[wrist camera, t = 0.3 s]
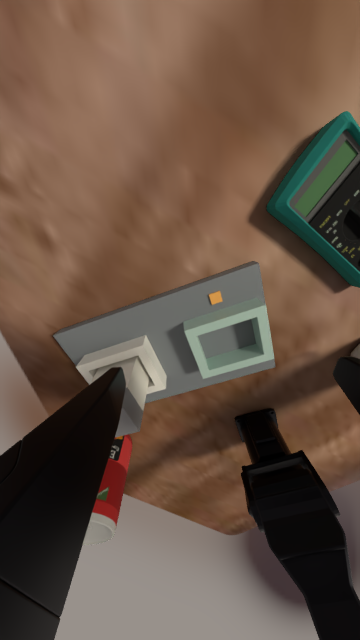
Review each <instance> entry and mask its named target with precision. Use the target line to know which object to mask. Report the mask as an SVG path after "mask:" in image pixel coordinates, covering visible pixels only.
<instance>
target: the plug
mask: <svg viewBox="0 0 360 640" xmlns="http://www.w3.org/2000/svg"><path fill="white" fill-rule="evenodd" d="M112 367H122V369H123V372H124V376H125V381H126V389H125V394H124V399H123V405H122V410H121V415H120V420H119V425H118V428H117V432H116V435H115V437H119V436H123V435H127V434H131V433H135V432H139V431H140V427H141V421H142V416H143V410H144V405H145V399H146V394H147V388H148V383H149V377H150V375H149V374H148V372H147V370H146V368H145V367H144V365H143V363H142V361H141V359H140V358H139V356H134V357H131V358H128V359H125V360H122V361H119V362H115V363H112V364H109V365H106V366H103V367H100V368H99V369H98V370H97V372H96V374H95V376H94V377H93V379H92V381H91V383H93V382H94V381H95V380H96V379H98V378H99V377H100V376H101V375H103V374H104V373H105V372H106V371H108V370H109V369H110V368H112ZM91 383H90V384H91ZM90 384H89V385H90Z"/></svg>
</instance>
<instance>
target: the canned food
mask: <svg viewBox="0 0 360 640" xmlns="http://www.w3.org/2000/svg"><path fill="white" fill-rule="evenodd" d="M131 451H132V439H131V437H130V436H129V435H128V434H127V435H123V436H119V437H115V439H114V442H113V445H112V449H111V452H110V455H109V459H108V462H107V465H106V469H105V472H104V475H103V478H102V482H101V485H100V488H99V492H98V495H97V498H96V502H95V505H94V508H93V512H92V515H91V518H90V522H89V525H88V528H87V531H86V535H85V538H84V541H83V545H92V544H99V543H103V542H106V541H108V540H110V539H111V538H112V537H113V536H114V533H115V529H116V525H117V520H118V516H119V511H120V506H121V501H122V496H123V491H124V486H125V481H126V476H127V471H128V466H129V461H130V456H131Z"/></svg>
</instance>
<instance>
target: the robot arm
mask: <svg viewBox="0 0 360 640" xmlns="http://www.w3.org/2000/svg"><path fill="white" fill-rule="evenodd" d="M333 376H334V378H335V380H336V381H337V383H338V384H339V386H340V387H341V389H342V390H343V392H344V393H345V394H346V396H347V397H348V399H349V400H350V402H351V403H352V405H353V406H354V408H355V409H356V410H357V412H358V413H359V414H360V359H359V358H356V357H353V356H344V357H340V358H339V359H338V361H337V364H336V366H335V369H334V371H333ZM125 389H126V381H125V376H124V372H123V369H122V367H112V368H110V369H109V370H108V371H106V372H105V373H104V374H103V375H101V376H100V377H99V378H98V379H96V380H95V381H94V382H93V383H91V384H90V385H89V386H88V387H86V388H85V389H84V390H83V391H81V392H80V393H79V394H77V395H76V396H75V397H74V398H72V399H71V400H70V401H69V402H67V403H66V404H65V405H64V406H62V407H61V408H60V409H59V410H57V411H56V412H55V413H54V414H52V415H51V416H50V417H49V418H47V419H46V420H45V421H44V422H42V423H41V424H40V425H39V426H37V427H36V428H35V429H33V430H32V431H31V432H30V433H29V434H27V435H26V436H25V437H24V438H23V439H22V440H20V441H19V442H17V443H16V444H15V445H13V446H12V447H11V448H9V449H8V450H7V451H6V452H4V453H3V454H2V455H1V456H0V640H54V638H55V635H56V632H57V628H58V625H59V622H60V618H59V617H60V616H61V614H62V611H63V608H64V604H65V601H66V598H67V594H68V591H69V588H70V585H71V581H72V577H73V575H74V571H75V568H76V564H77V561H78V558H79V554H80V551H81V548H82V545H83V541H84V538H85V535H86V531H87V528H88V525H89V522H90V518H91V515H92V512H93V508H94V505H95V502H96V498H97V495H98V492H99V488H100V485H101V482H102V478H103V475H104V472H105V469H106V465H107V462H108V459H109V455H110V452H111V449H112V445H113V442H114V439H115V435H116V432H117V428H118V425H119V420H120V415H121V410H122V405H123V399H124V394H125ZM235 422H236V425H237V428H238V431H239V434H240V437H241V440H242V442H245V444H246V447H247V450H248V453H249V456H250V459H251V462H252V465H248V466H242V470H243V472H242V473H241V477H242V480H243V484H244V488H245V495H246V502H247V508H248V512H249V514H250V515H251V516H252V517H253V518H254V519H255V522H256V523H257V525H258V527H259V530H260V531H261V532H265V535H266V538H267V541H268V544H269V547H270V548H271V550H272V551H273V553H274V554H275V556H276V557H277V558H278V560H279V561H280V563H281V564H282V565H283V567H284V568H285V570H286V571H287V572H288V574H289V575H290V577H291V578H292V579H293V581H294V582H295V584H296V585H297V586H298V588H299V589H300V591H301V592H302V593H303V595H304V597H305V600H306V603H307V606H308V609H309V611H310V614H311V617H312V620H313V622H314V626H315V628H316V631H317V634H318V637H319V640H360V600H359V599H358V596H357V594H356V592H355V590H354V588H353V582H352V575H351V568H350V562H349V555H348V549H347V543H346V537H345V533H344V531H343V529H342V527H341V525H340V523H339V521H338V519H337V518H336V517H338V516H340V513H339V511H338V508H337V506H336V504H335V502H334V501H333V499H332V497H331V495H330V493H329V491H328V489H327V488H326V486H325V484H324V483H323V481H322V480H321V478H320V476H319V475H318V473H317V472H316V470H315V469H314V467H313V466H312V464H311V463H310V461H309V460H308V458H307V457H306V455H305V454H304V452H303V451H302V450H300V451H298V452H296V453H292V454H291V452H290V450H289V448H288V447H287V445H286V443H285V441H284V439H283V437H282V435H281V433H280V431H279V429H278V424H277V419H276V413H275V411H274V409H267V410H263V411H259V412H255V413H251V414H247V415H243V416H239V417H236V418H235Z"/></svg>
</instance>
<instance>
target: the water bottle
mask: <svg viewBox="0 0 360 640" xmlns="http://www.w3.org/2000/svg"><path fill="white" fill-rule="evenodd" d="M350 356H353V357H356V358H359V359H360V344H359V345H358V346H357V347H356V348H355V349H354V350H353V351H352V352H351V355H350Z"/></svg>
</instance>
